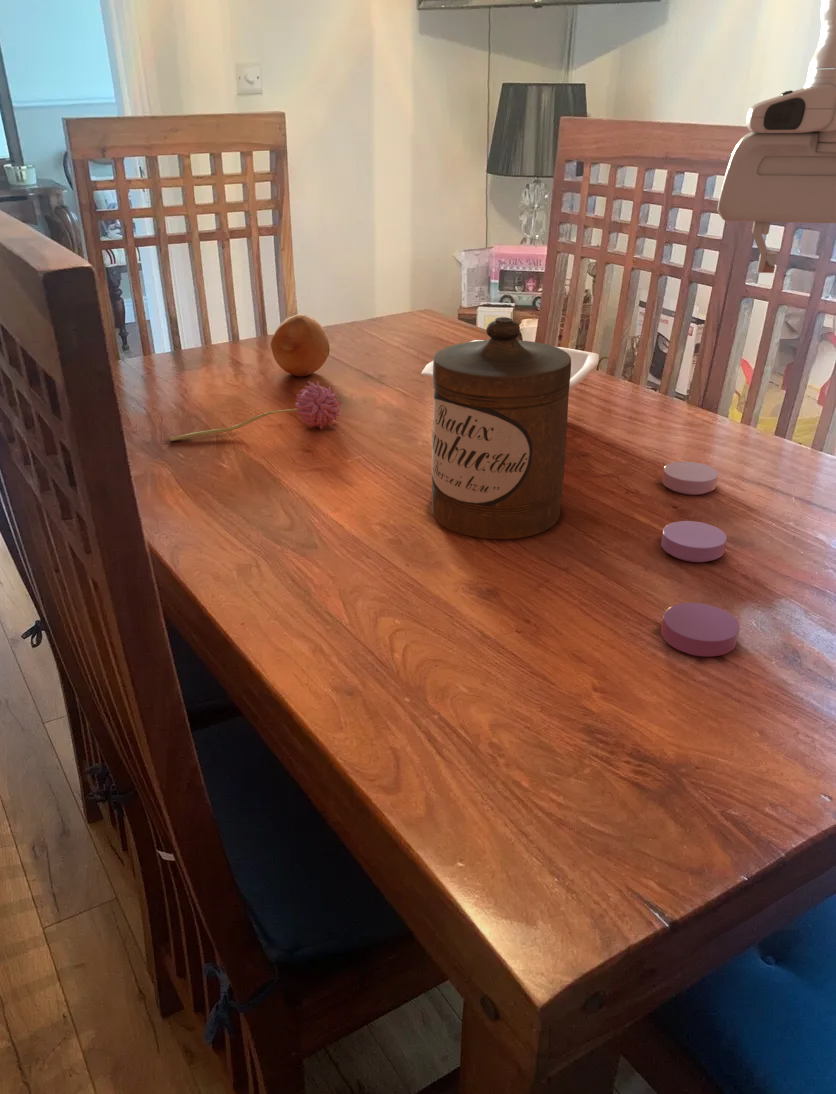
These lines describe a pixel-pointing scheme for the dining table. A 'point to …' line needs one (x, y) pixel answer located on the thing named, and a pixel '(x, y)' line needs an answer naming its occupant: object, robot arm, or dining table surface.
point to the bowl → (579, 366)
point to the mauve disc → (700, 629)
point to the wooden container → (499, 434)
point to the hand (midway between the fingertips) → (817, 274)
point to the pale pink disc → (689, 477)
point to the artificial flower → (311, 406)
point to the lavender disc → (693, 541)
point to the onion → (300, 345)
